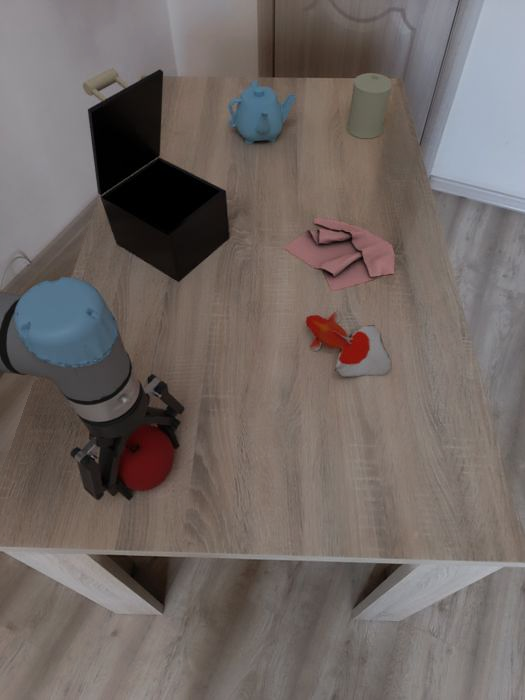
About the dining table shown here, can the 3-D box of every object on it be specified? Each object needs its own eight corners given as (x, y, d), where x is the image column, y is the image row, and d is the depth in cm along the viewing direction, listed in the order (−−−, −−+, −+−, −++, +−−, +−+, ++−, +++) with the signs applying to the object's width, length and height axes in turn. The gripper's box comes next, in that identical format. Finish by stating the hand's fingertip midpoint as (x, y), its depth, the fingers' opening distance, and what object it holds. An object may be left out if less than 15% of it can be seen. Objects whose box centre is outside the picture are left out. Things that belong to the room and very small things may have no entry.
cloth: (408, 278, 93) (412, 270, 91) (300, 296, 90) (301, 287, 88) (373, 211, 104) (375, 202, 102) (276, 225, 101) (276, 216, 99)
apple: (185, 485, 70) (175, 460, 61) (124, 507, 68) (104, 484, 60) (169, 431, 74) (158, 401, 66) (112, 450, 73) (93, 421, 64)
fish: (339, 291, 85) (351, 281, 75) (394, 360, 84) (413, 359, 74) (292, 329, 84) (297, 323, 74) (347, 398, 84) (360, 402, 74)
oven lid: (163, 71, 79) (131, 46, 79) (91, 112, 72) (56, 83, 72) (160, 156, 95) (133, 134, 96) (100, 195, 88) (72, 172, 89)
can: (384, 121, 124) (395, 73, 114) (379, 141, 119) (390, 92, 109) (349, 116, 125) (357, 68, 115) (343, 135, 120) (350, 87, 110)
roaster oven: (229, 238, 99) (226, 190, 89) (178, 282, 92) (168, 236, 82) (168, 204, 105) (158, 156, 95) (116, 243, 98) (100, 196, 88)
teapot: (300, 132, 121) (303, 87, 112) (265, 157, 115) (265, 111, 106) (254, 112, 127) (253, 67, 117) (219, 134, 121) (215, 89, 111)
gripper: (49, 492, 46) (111, 544, 65) (198, 345, 56) (215, 427, 75) (2, 448, 49) (74, 510, 67) (153, 315, 59) (180, 401, 77)
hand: (148, 467), depth 71 cm, fingers closed on apple, 9 cm apart
